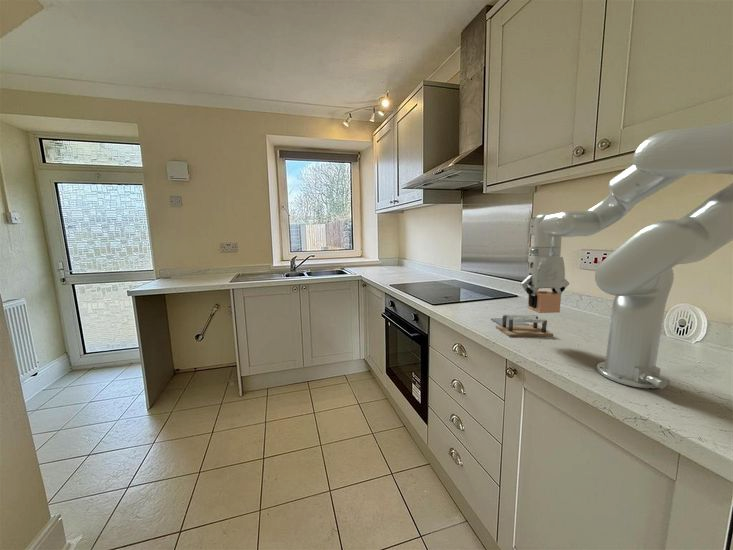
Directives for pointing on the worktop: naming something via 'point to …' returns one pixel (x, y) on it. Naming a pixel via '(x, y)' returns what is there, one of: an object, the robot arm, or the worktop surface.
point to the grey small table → (524, 319)
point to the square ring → (547, 302)
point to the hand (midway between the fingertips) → (543, 306)
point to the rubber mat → (499, 321)
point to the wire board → (523, 331)
